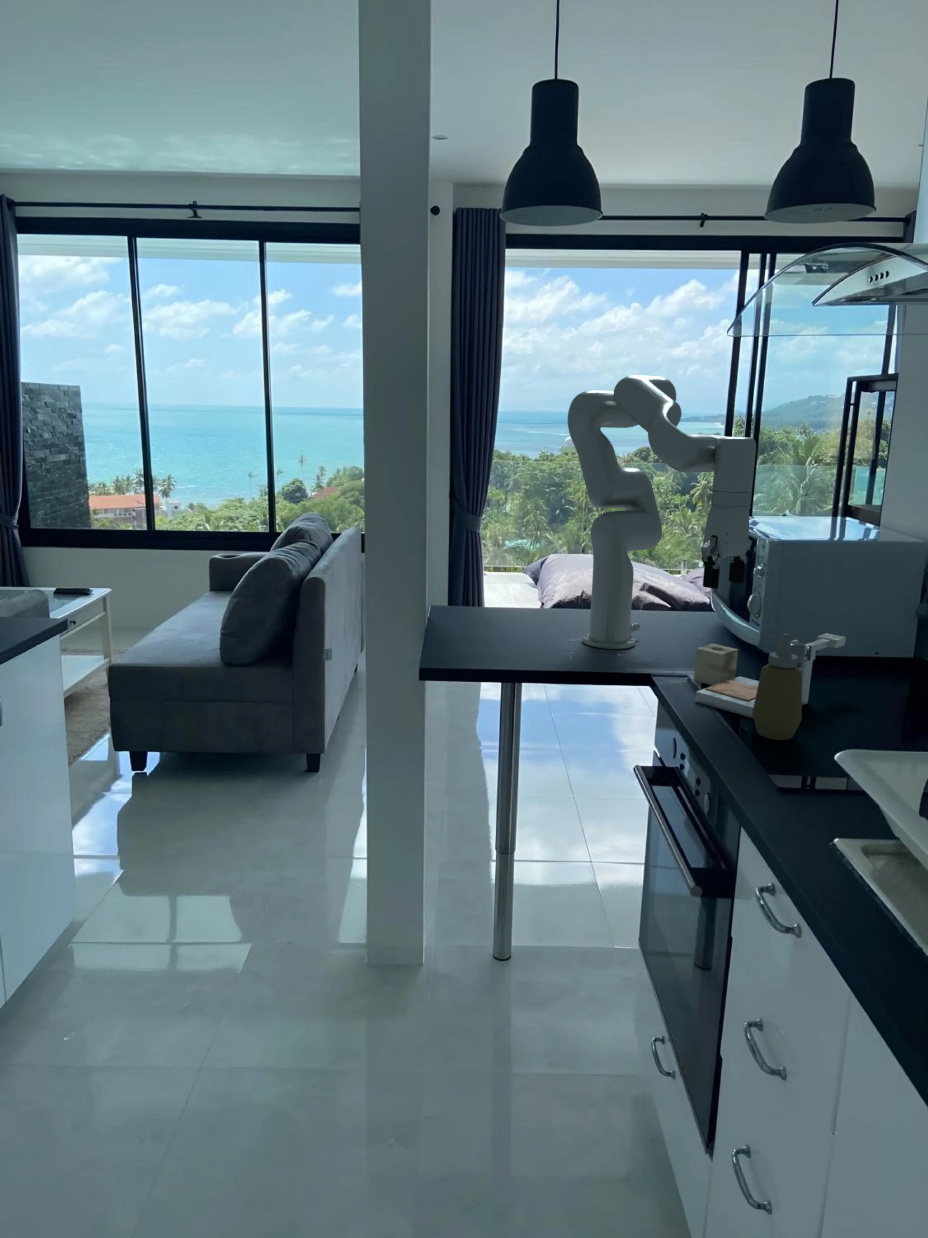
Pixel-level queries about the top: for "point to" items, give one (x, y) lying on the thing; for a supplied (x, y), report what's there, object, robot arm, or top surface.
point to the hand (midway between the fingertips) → (723, 584)
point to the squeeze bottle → (779, 694)
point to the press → (749, 690)
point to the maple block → (715, 664)
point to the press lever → (821, 642)
